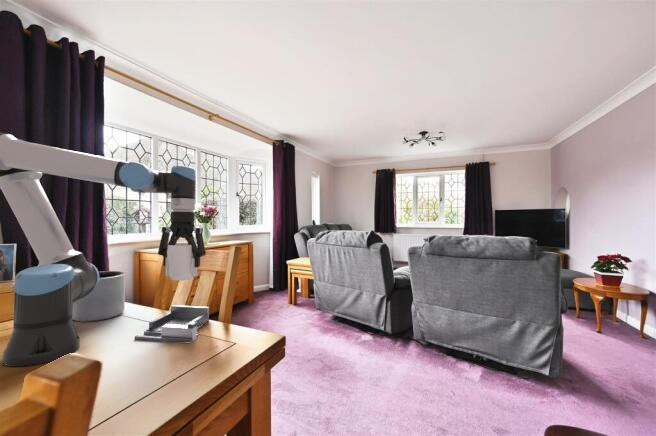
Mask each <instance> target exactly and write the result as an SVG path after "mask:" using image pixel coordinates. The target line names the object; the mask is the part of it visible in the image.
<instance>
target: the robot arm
mask: <svg viewBox="0 0 656 436" xmlns="http://www.w3.org/2000/svg"><path fill="white" fill-rule="evenodd" d="M43 174H45V175H46V174H47V175H53V176H58V177H65V178H71V179H75V180H76V179H77V180H82V181H89V182H93V183H100V184H105V185H111V186H118V187H120V188H121V187H122V188H127V189H130V190H131V191H132V192H134V193H141V194H146V193H147V194H170V210H172V211H171V212H170V223H171V224H170V226H162V227H161V233H162V234H161V238H160V242H159V246H158V250H157V254H158V256H162V258H163V267H165V268H164V269H165V270H164V271H165V273H164V274H165V275H164V276H165V277H170V272H169V265H168V257H167V249H168V244H169V245H175V244H176V243H178V240H179V239H181V238H182V239H185V241H186V243H188V244H189V245H191V247H192V253H193V256H194V257H193V258H192V267H191V277H192V278H195V277H198V272H199V270H198V269H199V267H200V266H201V258H202V257H204V256H206V255H207V253H206V252H207V251H206V248H205V242H204V237H203V231H204V229H203V227H198V226H197V227H195V218H196V217H195V216H196V215H195V212H194V211H195V210H196V208H195V207H196V200H195V199H196V198H195V197H196V170H195V169H194V168H193V167H191V166H186V165H173V166H172V167H171V169H170V171H161V170H155V169H152V168H150V167H149V166H148V165H146V164H144V163H142V162H138V161H127V160H126V161H125V160H121V159H115V158H111V157H105V156H102V155H95V154H90V153H86V152H81V151H74V150H70V149H65V148H60V147H55V146H50V145H45V144H40V143H34V142H29V141H26V140H23V139H20V138H18V137H15V136H14V135H12V134H9V133H4V132H0V190H1V191H2V193H3V195H4V197H5V200H6V201H7V202H8V205H9V206H10V208H11V210H12V212H13V214H14V216H15V217H16V220H17V222H18V224H19V225H20V228H21V229H22V231H23V233H24V235H25V238H26V239H27V240H28V243H29V244H30V247H31V248H32V250H33V252H34V254H35V257H36V258H37V260H38V265H37V266H31V267H27V268H26V269H23V270H21V271H18V273H17V274H16V276H15V278H14V284H13V328H12V329H13V330H12V333H11V335H10V337H9V339H8V342H7V345H6V347H5V349H4V350H3V352H2V364H3V363H4V364H7V365H10V366H9V367H15V366H16V367H24V366H23V365H29V366H31V365H30V364H36V365H40V364H44V363H49V362H53V361H56V360H59V359H61V358H60V357H62V356H64V355H66V354H69V353H71V354H73V353H74V352H76V351H77V350H79V348H80V342H81V341H80V340H81V339H80V335H78V332H77V328H76V326H75V324H74V321H73V319H72V312H73V302H75V301H77V300H79V299H81V298H84V297H86V296H87V295H89V294H90V293H91V292H92V291H93V290H94V289H95V288H96V286H97V285H98V282H99V272H100V271H99V270H98V267H96V266H95V265H94V263H91V262H88V261H87V259H86V256H85V255H84V254H83V252H81V251H78V250H75V249H74V247H73V245H72V242H71V241H70V239H69V237H68V235H67V233H66V230H65V229H64V227H63V225H62V223H61V222H60V219H59V217H58V216H57V214H56V212H55V210H54V207H53V206H52V203H51V202H50V200H49V198H48V196H47V194H46V192H45V190H44V188H43V186H42V185H41V182H40V179H41V178H42V176H43ZM170 233H172V234H171V235H170ZM193 233H194V234H195V237H194V234H193ZM169 238H170V240H169ZM194 238H195V239H194ZM72 352H73V353H72ZM69 355H70V354H69ZM64 357H65V356H64ZM58 358H59V359H58ZM62 358H63V357H62ZM39 363H40V364H39ZM4 364H3V365H4Z"/></svg>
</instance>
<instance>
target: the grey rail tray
mask: <svg viewBox="0 0 656 436" xmlns="http://www.w3.org/2000/svg"><path fill="white" fill-rule="evenodd" d="M209 317H210V307H209V306H198V305H197V306H196V305H195V306H194V305H178V304H177V305H175V304H172V305H171V306H170V311H169V312H167V313H164V314H163V315H161V316H159V317H157V318H154V319H153V320H151V321H149V322H148V328H147V329H145V331H160V332H162V326H164V325H166V324H174V325H188V324H189V323H191V322H197V327H199V326H201V325H202V324H203V323H205V322H206V321H208V322H209V320H210V319H209ZM206 319H207V320H206ZM201 327H202V326H201Z"/></svg>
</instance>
